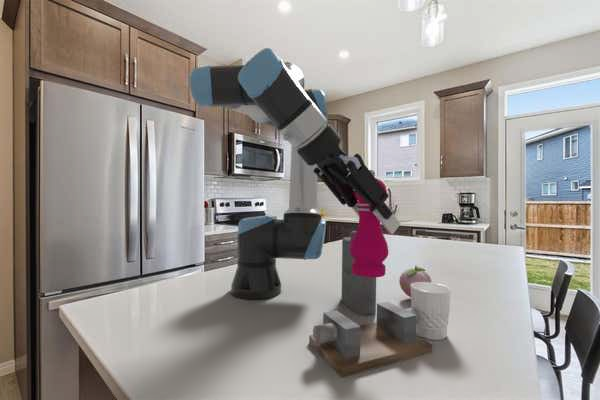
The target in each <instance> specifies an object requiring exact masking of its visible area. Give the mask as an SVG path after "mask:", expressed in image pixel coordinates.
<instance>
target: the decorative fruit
mask: <svg viewBox="0 0 600 400" xmlns="http://www.w3.org/2000/svg"><path fill="white" fill-rule="evenodd" d="M398 282H399V286H400V289H401V290H402V291H403V293H404V294H405V296H408V297H409V298H411V284H412V283H415V282H431V283H432V279H431V276H430V275H429V274H428V272H427V271H426V269H425V268H424V267H419V266H417V265H415V267H414V268H409V269H406V270H404V271H402V273H401V274H400V276H399V280H398Z"/></svg>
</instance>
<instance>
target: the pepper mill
mask: <svg viewBox="0 0 600 400" xmlns="http://www.w3.org/2000/svg"><path fill="white" fill-rule="evenodd" d="M369 171H370V172H371V173H372V174H373V176H374V177H375V176H376V172H375V171H374V170H373V169H369ZM375 178H376V177H375ZM376 180H377V181H378V182H379V183H380V185H381V186H382V187H383V188H384V190H385V191H386V192H387V186H386V185H385V183H384V181H382V179H381V180H380V179H378V178H376ZM353 190H354V189H353ZM354 194H355V197H356V198H357V199H358V201H359V203H357V205H358V206H357V210H359V216H358V225H357V229H356V230H355V231H356V233H355V235H354V237H353V239H352V242H351V246H350V254H351V255H352V257H353V258H354V259H355V262H353V263H352V272H353V273H354V274H355V275H358V276H362V277H376V278H383V277H385V275H386V265H385V264H384V263H383V262H385V260H386V259H387V258H388V257H389V246H388V243H387V239H386V237H385V235H384V233H383V230H382V226H381V225H382V224H381V222H380V221H379V220H378V218H377V217H376V216H375V215H374V213H373V212H371V211H370V209H371V206H370V205H369V204H368V203H367V202H366V201H365V200H364V199H363V198H362V197H361V196H360V195H359V194H358V193H357V192H356V191H355V190H354Z"/></svg>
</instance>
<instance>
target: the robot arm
mask: <svg viewBox="0 0 600 400" xmlns="http://www.w3.org/2000/svg"><path fill="white" fill-rule="evenodd" d="M304 76H305V75H304V74H303V72H302V70H301V69H300V68H299V67H298V66H297V65H295V64H294V63H291V62H288V61H287V62H283V59H282V58H280V57H279V56H278V54H276V53H275V51H274V50H273V49H272V48H270V47H266V48H264V49H261V50H260V51H259V52H257V53H256V54H255V55H253V57H251V58H250V59H249V60H248V61H247V62H246V63H245V64H241V65H239V64H238V65H213V66H211V65H208V66H201V67H196V68H193V69H192V70H191V72H190V76H189V87H190V88H189V89H190V93H191V96H192V99H193V101H194V102H195V103H196V104H197V105H198V106H200V107H210V108H214V107H222V108H225V109H228V110H232V111H234V112H237V113H239V114H240V113H241V114H244V115H246V116H249V118H250V119H251V120H252V121H254V122H256V123H258V124H261V125H265V126H270V127H275V128H276V129H277V130H278V131H279V132H280V133H281V134H282V139H283V141H287V142H288V143H289V144H290V145H291V148H290V149H291V150H290V173H289V174H290V177H289V194H288V195H289V196H288V197H289V198H288V208H287V210H285V212H283V219H278V216H277V215H276V214H269V215H258V216H251V217H245V218H242V219H240V220H239V222H238V228H237V233H236V235H237V267H236V270H235V273H234V276H233V280H232V282H231V289H230V292H231V295H232V296H233V297H236V298H239V299H243V300H244V299H245V300H263V299H270V298H273V297H276V296H278V295H279V294H280V293H282V282H281V279H280V275H279V272H278V270H277V263H276V261H277V259H286V260H289V259H291V260H293V259H294V260H305V261H306V260H317V259H319V258H320V257H321V256H322V253H323V247H324V242H325V235H326V228H327V222H326V221H327V220H324V219H322V213H320V211H319V210H318V177H319V178H320V179H321V181H322V182H323V184H324V185H326V187H327V188H328V189H329V191H330V192H331V193H332V194H333V195H334V196H335V198H336V199H337V200H338V201H339V203H340V204H341V205H343V206H345V205H346V206H347V207H349V208H352V210H353V211H354V212H355V214H356V215H357V216H358V217H359V210H357V206H358V205H357V203H359V201H358V199H357V198H356V197H355V194H354V190H355V191H356V192H357V193H358V194H359V195H360V196H361V197H362V198H363V199H364V200H365V201H366V202H367V203H368V204H369V205H370V206H371V209H370V211H371V212H373V213H374V215H375V216H376V217H377V218H378V220H379V221H380V224H381V225H382V226H383V227H384V228H385V230H386V231H387V232H388V233H389V235H393V234H394V233H395V232H396V231H397V229H398V228H399V227H400V225H401V222H400V221H399V220H398V219H397V216H395V215H394V213H393V211H391V209H390V208H389V207H388V205H387V204H386V203H385V202H386V200H388V199H389V197H390V196H389V193H388V192H387V190H386V191H385V190H384V188H383V187H382V186H381V185H380V183H379V182H378V181H377V180H376V179H377V178H376V177H374V176H373V174H372V173H371V172H370V171H369V170H370V169H369V168H368V167H367V165H366V164H365V162H364V159H363V158H362V156H361V154H359V153H355V154H354V155H353V156H349V155H348V154H347V153H346V152H345V151H343V150H342V148H340V144H341V140H342V138H341V137H340V135H339V133H338V132H336V130H335V128H334V127H333V126H332V124H330V123H328V122H329V119H328V112H327V111H328V110H327V109H328V108H327V101H326V95H325V92H324V91H323V90H322V89H312V88H309V89H305V81H306V80H305V77H304Z"/></svg>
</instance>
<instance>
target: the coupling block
mask: <svg viewBox="0 0 600 400" xmlns="http://www.w3.org/2000/svg"><path fill="white" fill-rule="evenodd" d="M419 319H420V316H419V313H418V311H417V310H416V309H415V308H411V307H409V308H402V307H400V306H398V305H396V304H394V303H391V302H390V301H383V302H378V303H377V302H376V322H370V323H365V324H361V325H359V324H358V323H355V322H354V320H352V319H351V318H348V317H347V316H346V315H344V314H343V313H341V312H340V311H338V310H337V309H336V310H331V311H330V310H329V311H325V312H323V319H322V321H323V323H322V324H317V325H313V329H312V334H310V335H309V336H308V337H309V338H308V339H309V340H308V344H310V345H311V347H312V348H313V349H314V350H315V351H316V352H317V353H318V354H319V355H320V356H321V357H322V358H323V359H324V361H326V362H327V363H328V364H329V366H330V367H332V369H333V370H334V369H335V370H334V371H335V372H336V371H337V372H338V373H337V372H336V373H337V374H338V375H339V376H340V377H341V378H344V377H347V376H352V375H353V374H354V373H355V374H357V372H358V373H362V372H365V371H364V370H366V371H369V370H372V369H371V368H373V369H376V368H380V367H383V366H382V365H384V366H387V365H390V364H393V363H397V361H398V362H401V361H404V359H405V360H408V359H413V358H416V357H419V356H422V355H425V354H426V353H427V354H429V353H432V352H433V343H431V342H429V341H427V340H426V339H425V338H423V337H420V336H418V335H417V334H416V323H418V322H419ZM400 360H401V361H400ZM379 366H380V367H379ZM375 367H376V368H375ZM368 369H369V370H368ZM361 371H362V372H361Z"/></svg>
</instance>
